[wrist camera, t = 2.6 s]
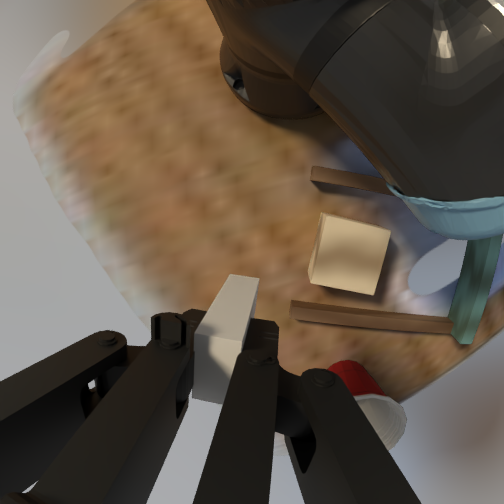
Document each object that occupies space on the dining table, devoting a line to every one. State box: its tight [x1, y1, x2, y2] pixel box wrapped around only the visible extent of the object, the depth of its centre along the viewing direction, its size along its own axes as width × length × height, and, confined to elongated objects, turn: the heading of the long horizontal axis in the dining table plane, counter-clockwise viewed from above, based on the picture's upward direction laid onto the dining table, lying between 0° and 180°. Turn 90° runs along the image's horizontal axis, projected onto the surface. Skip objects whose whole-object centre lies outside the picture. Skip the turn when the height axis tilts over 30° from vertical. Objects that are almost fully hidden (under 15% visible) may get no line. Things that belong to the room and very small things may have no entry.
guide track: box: [289, 166, 503, 344], centre depth 31 cm, size 17×24×5 cm
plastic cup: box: [327, 360, 407, 451], centre depth 31 cm, size 11×11×12 cm
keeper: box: [308, 212, 391, 295], centre depth 32 cm, size 7×7×4 cm
